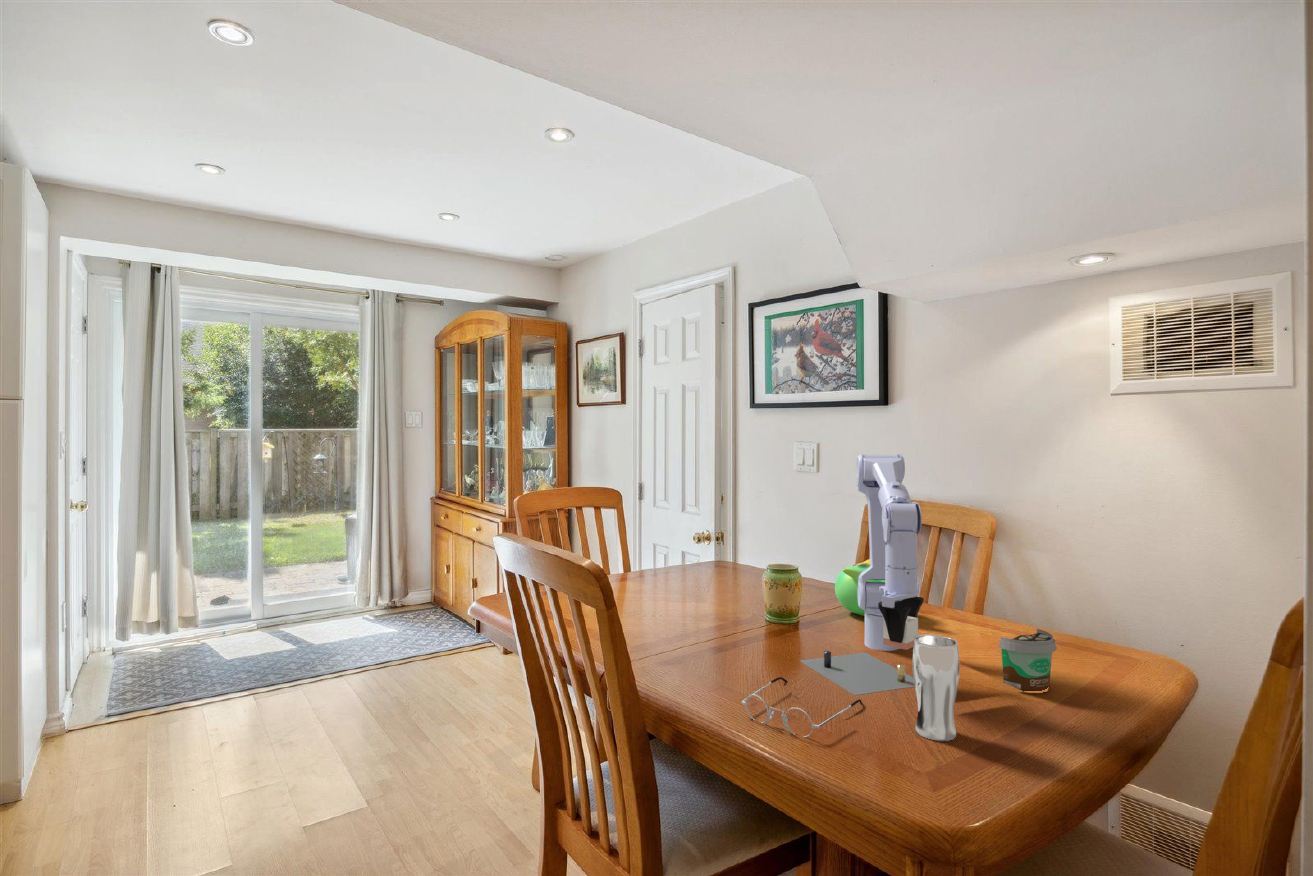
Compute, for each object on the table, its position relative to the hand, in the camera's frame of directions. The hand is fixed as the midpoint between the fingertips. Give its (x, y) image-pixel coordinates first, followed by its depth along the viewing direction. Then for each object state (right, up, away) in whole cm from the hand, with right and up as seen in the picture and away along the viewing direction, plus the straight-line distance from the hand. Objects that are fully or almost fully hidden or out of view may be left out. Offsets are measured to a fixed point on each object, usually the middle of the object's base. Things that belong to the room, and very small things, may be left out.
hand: (901, 638), depth 123 cm
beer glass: (-1, -10, -18) cm, 21 cm away
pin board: (-6, -10, +5) cm, 13 cm away
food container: (+25, -10, 0) cm, 27 cm away
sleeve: (0, -1, 0) cm, 1 cm away
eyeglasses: (-21, -10, -10) cm, 26 cm away
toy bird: (+11, -10, +51) cm, 53 cm away
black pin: (-12, -8, +8) cm, 16 cm away
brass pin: (0, -8, 0) cm, 8 cm away
